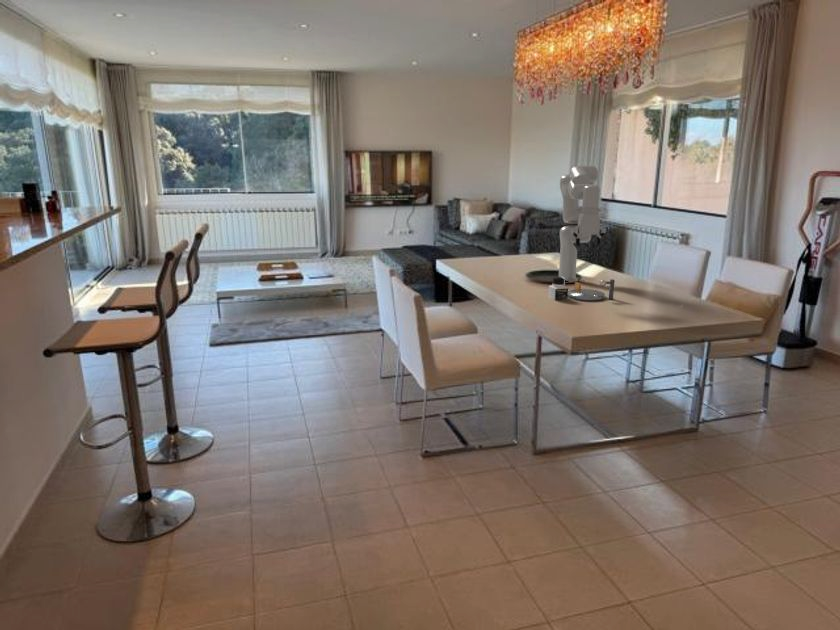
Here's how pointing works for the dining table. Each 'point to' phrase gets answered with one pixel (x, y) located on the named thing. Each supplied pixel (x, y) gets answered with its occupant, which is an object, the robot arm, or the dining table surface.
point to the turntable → (585, 294)
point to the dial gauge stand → (611, 291)
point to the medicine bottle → (558, 289)
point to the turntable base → (590, 301)
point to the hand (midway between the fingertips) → (587, 246)
